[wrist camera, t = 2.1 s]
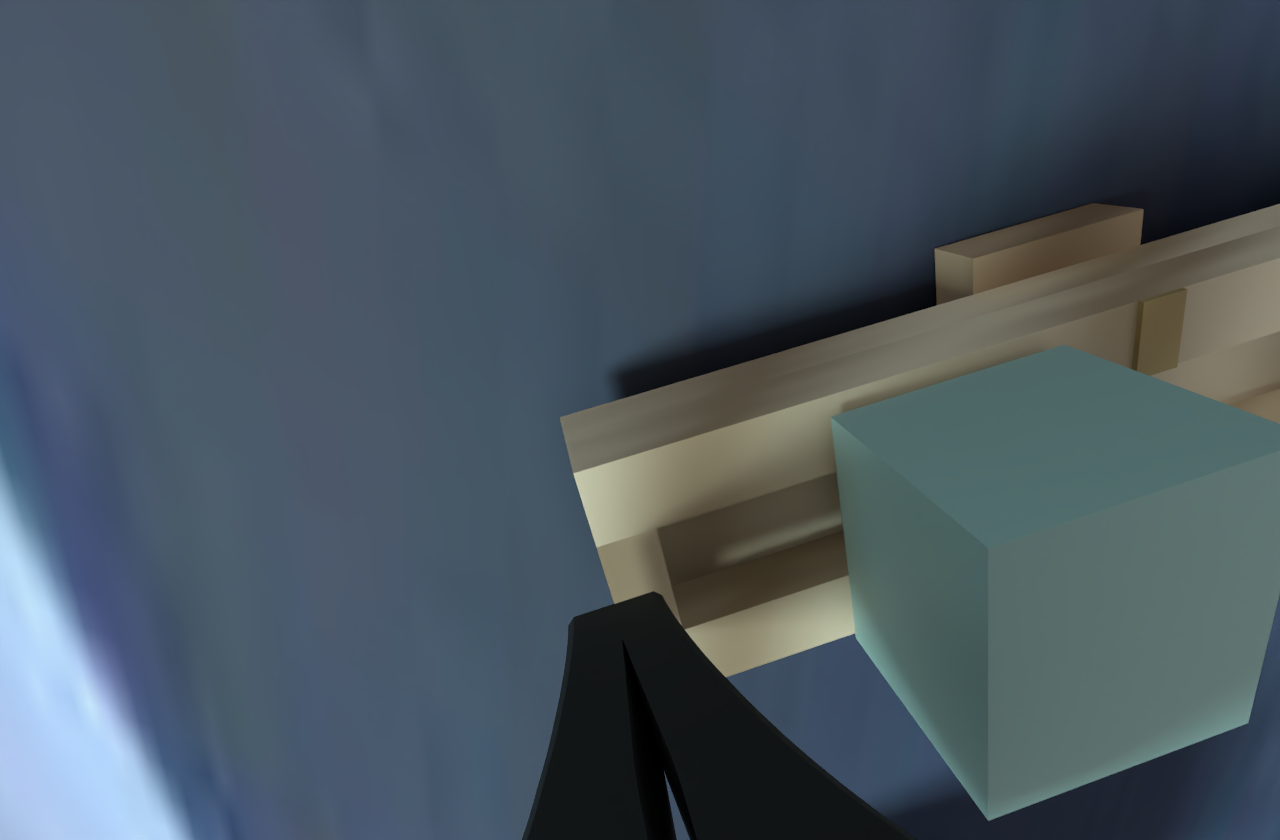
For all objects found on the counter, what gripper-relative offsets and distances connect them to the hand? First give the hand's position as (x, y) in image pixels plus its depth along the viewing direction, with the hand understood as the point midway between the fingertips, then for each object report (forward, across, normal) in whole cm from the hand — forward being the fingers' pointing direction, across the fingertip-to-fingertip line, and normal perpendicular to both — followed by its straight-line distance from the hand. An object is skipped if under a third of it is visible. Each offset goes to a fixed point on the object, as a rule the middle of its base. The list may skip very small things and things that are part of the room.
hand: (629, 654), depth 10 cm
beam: (+5, -10, 0) cm, 11 cm away
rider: (+2, -6, 0) cm, 6 cm away
